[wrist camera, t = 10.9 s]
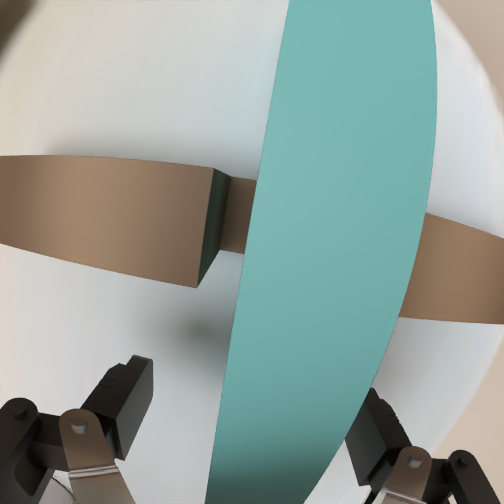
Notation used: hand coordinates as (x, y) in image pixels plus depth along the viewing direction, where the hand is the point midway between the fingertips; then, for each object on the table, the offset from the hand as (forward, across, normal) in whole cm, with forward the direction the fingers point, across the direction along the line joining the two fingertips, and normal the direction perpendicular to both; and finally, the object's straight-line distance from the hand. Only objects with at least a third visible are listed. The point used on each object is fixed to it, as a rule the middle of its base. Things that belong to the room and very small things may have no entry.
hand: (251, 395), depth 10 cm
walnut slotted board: (+5, 0, -6) cm, 8 cm away
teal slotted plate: (+5, 0, -6) cm, 8 cm away
